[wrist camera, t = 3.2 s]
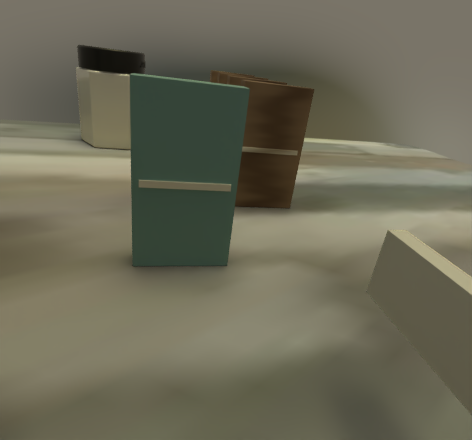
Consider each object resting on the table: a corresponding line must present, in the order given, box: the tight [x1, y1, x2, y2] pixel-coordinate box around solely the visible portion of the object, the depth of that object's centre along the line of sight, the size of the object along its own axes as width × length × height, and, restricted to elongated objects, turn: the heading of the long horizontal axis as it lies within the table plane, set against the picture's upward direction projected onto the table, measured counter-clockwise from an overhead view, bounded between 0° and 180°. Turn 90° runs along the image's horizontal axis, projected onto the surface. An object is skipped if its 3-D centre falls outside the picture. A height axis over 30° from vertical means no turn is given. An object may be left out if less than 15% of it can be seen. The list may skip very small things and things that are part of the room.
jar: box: [76, 45, 145, 150], centre depth 45 cm, size 9×8×12 cm
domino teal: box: [130, 73, 250, 266], centre depth 19 cm, size 6×2×11 cm, turn 101°
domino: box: [235, 80, 314, 208], centre depth 30 cm, size 6×2×11 cm, turn 101°
